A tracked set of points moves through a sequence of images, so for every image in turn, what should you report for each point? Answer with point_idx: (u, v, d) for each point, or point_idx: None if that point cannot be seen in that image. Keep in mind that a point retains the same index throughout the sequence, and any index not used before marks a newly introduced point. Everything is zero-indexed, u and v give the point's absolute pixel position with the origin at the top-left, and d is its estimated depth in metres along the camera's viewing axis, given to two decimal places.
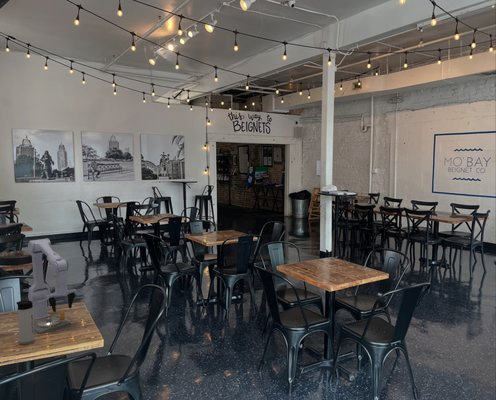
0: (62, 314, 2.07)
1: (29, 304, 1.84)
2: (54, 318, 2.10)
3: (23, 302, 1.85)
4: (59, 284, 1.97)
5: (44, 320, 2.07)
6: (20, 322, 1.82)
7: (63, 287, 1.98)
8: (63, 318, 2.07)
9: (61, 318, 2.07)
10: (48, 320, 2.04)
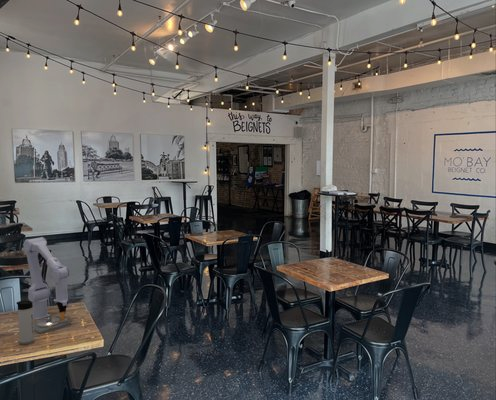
0: (62, 314, 2.07)
1: (29, 304, 1.84)
2: (54, 318, 2.10)
3: (23, 302, 1.85)
4: (61, 291, 2.06)
5: (44, 320, 2.07)
6: (20, 322, 1.82)
7: None
8: (63, 318, 2.07)
9: (61, 318, 2.07)
10: (48, 320, 2.04)
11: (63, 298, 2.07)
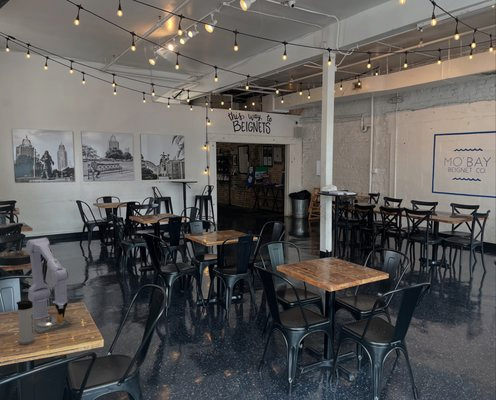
0: (58, 317, 2.03)
1: (29, 304, 1.84)
2: (57, 319, 2.09)
3: (23, 302, 1.85)
4: (59, 293, 2.03)
5: None
6: (20, 322, 1.82)
7: None
8: (59, 321, 2.03)
9: (57, 320, 2.03)
10: (47, 320, 2.04)
11: (61, 300, 2.03)
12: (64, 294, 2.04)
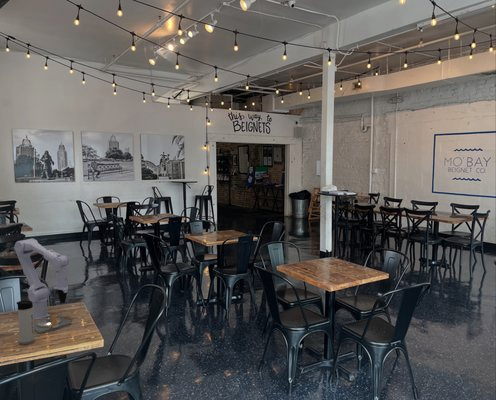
0: (51, 319, 2.00)
1: (29, 304, 1.84)
2: (57, 320, 2.07)
3: (23, 302, 1.85)
4: (62, 278, 2.10)
5: None
6: (20, 322, 1.82)
7: None
8: (52, 323, 2.00)
9: (51, 322, 2.01)
10: (46, 320, 2.05)
11: (63, 286, 2.11)
12: (66, 279, 2.12)
